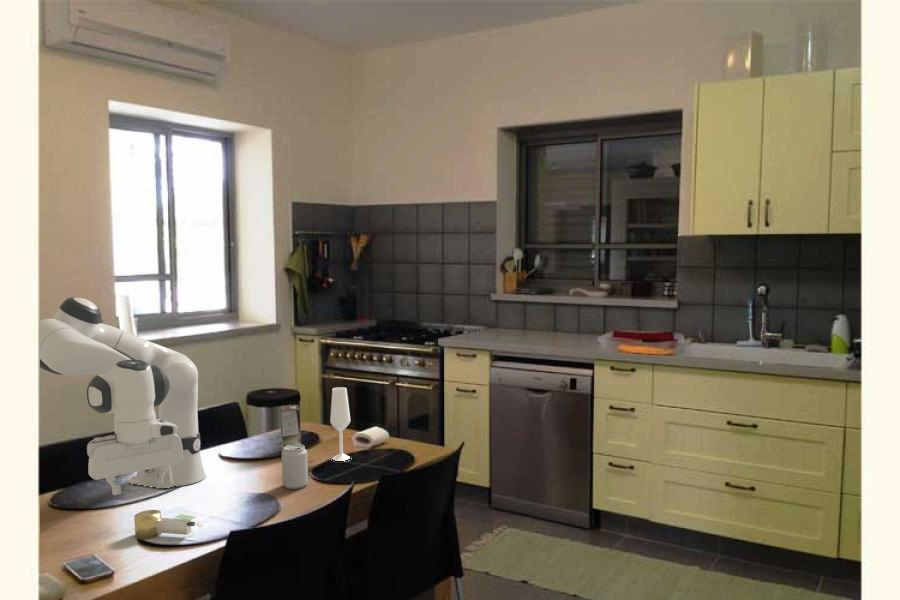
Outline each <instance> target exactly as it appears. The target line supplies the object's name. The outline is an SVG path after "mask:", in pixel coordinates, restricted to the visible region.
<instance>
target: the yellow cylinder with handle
mask: <svg viewBox="0 0 900 600" xmlns="http://www.w3.org/2000/svg"><path fill="white" fill-rule="evenodd" d="M133 520H134V536H135V538H136V539H138V540H151V539H153V538H157V537H159V536H160V535H162V534H172V535H183V536H185V535H186V536H188V535H189V534H190V533H191V532H192V527H194V526H195V525H196V523H195V522H196V521H191V520H192V519H191V520H187V519H181V518H170V517H169V518H168V517H162V511H160V510H159V509H148V510H143V511H140V512H137V513H135V515H134V517H133Z"/></svg>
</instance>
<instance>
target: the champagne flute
mask: <svg viewBox="0 0 900 600" xmlns="http://www.w3.org/2000/svg"><path fill="white" fill-rule="evenodd" d="M329 419H330V421H329V422H330V424H331V426H332V427H333V428H334V429H335V430H336V431H338V444H339V453H338V454H337V455H335V456H334V457H332V458H331V460H332V459H333V460H335V461H344V462H346V461H345V460H348V459H350V457H351V456H349V455H347V454H345V453H344V442H343V441H344V440H343V431H344V430H346V428H347V427H348V426H349V425H350V423H351V414H350V406H349V396H348V390H347V387H344V386H343V387H342V386H340V387H339V386H338V387H333V388H332V390H331V403H330V418H329ZM335 461H334V462H335ZM348 461H349V460H348Z"/></svg>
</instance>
